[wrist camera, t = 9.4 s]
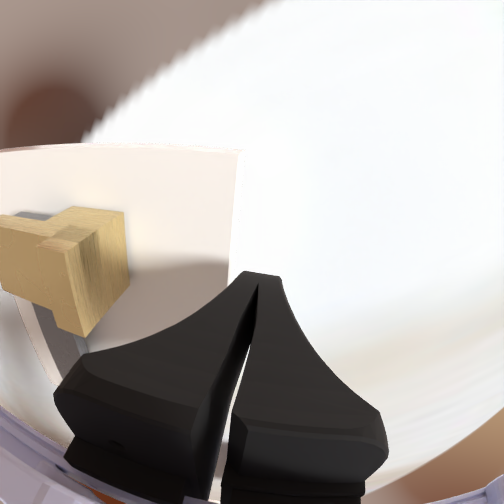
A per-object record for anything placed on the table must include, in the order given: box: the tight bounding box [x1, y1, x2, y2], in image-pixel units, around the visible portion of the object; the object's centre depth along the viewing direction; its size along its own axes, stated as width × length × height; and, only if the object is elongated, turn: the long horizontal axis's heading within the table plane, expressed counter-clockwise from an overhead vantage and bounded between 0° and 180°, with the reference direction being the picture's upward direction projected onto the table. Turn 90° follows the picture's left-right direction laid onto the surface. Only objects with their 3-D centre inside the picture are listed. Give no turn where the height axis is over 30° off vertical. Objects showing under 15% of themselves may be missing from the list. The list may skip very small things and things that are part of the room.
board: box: [0, 143, 245, 386], centre depth 15 cm, size 20×16×4 cm
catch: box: [0, 206, 130, 338], centre depth 11 cm, size 4×6×4 cm, turn 84°
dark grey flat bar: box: [13, 211, 89, 379], centre depth 15 cm, size 16×3×1 cm, turn 174°
